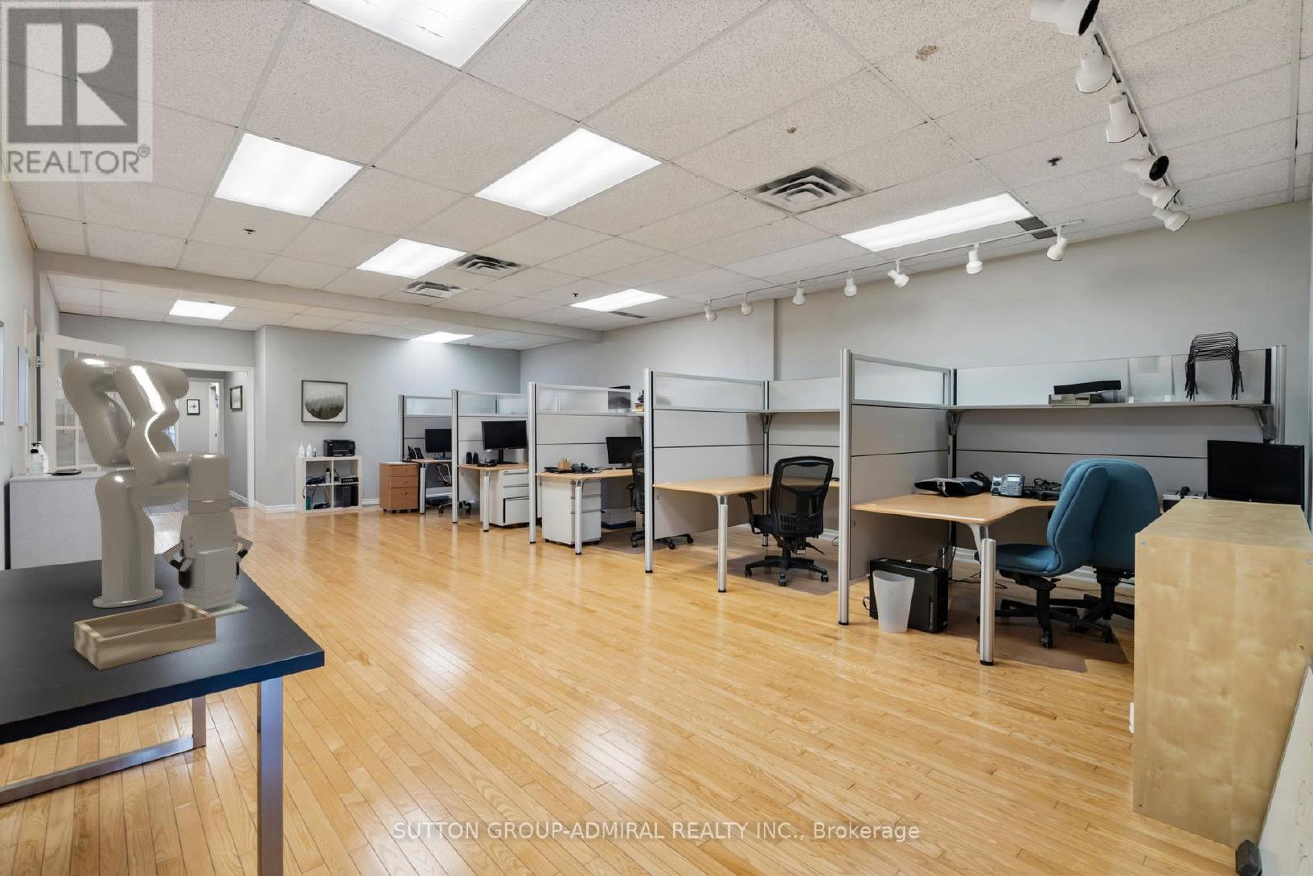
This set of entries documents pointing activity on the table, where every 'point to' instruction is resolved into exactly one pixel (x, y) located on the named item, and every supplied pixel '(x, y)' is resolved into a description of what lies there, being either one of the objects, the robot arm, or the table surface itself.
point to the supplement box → (212, 579)
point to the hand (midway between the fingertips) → (209, 583)
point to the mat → (226, 609)
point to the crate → (143, 634)
